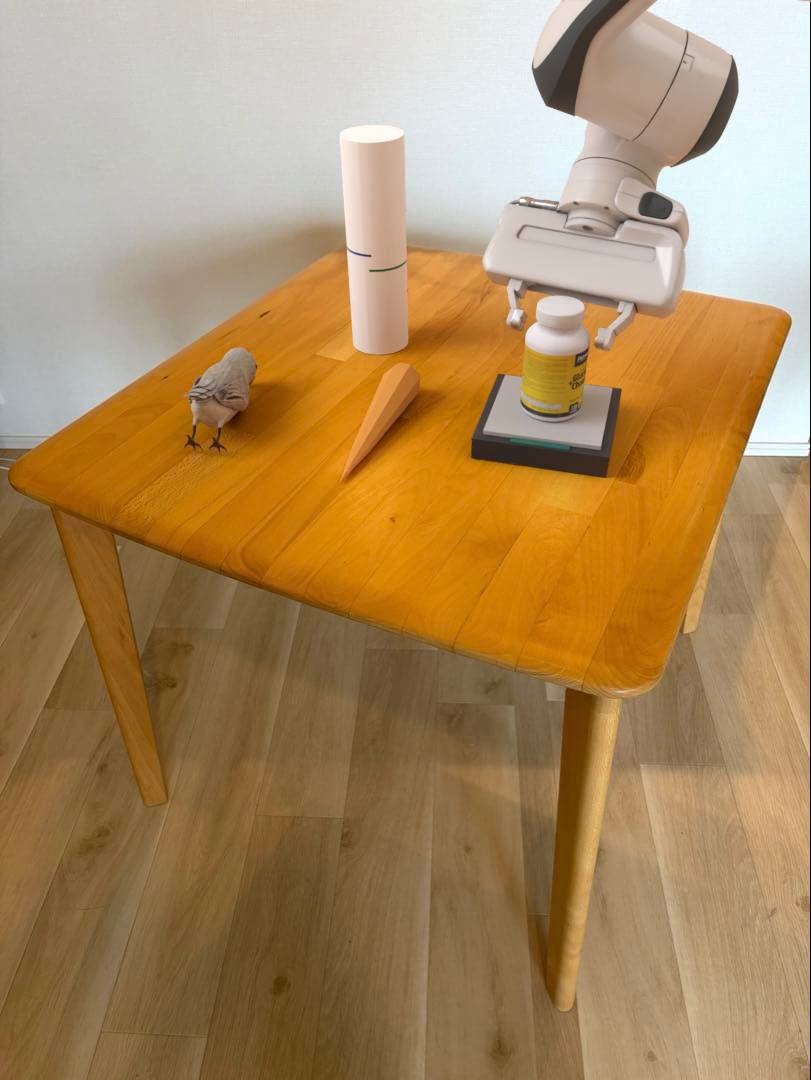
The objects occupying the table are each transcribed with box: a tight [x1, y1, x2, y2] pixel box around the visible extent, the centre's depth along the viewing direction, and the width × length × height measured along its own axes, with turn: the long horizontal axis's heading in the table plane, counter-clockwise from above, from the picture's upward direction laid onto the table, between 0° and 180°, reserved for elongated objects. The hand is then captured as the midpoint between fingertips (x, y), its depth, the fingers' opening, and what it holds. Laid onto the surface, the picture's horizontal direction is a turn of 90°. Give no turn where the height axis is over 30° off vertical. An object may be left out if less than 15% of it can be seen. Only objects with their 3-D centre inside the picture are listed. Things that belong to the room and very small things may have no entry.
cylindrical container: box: [339, 124, 409, 356], centre depth 102 cm, size 7×7×25 cm
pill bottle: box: [520, 295, 591, 422], centre depth 87 cm, size 6×6×12 cm
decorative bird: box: [182, 346, 258, 454], centre depth 94 cm, size 5×16×8 cm, turn 170°
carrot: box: [339, 362, 421, 483], centre depth 92 cm, size 20×4×4 cm, turn 160°
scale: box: [470, 373, 623, 478], centre depth 92 cm, size 14×14×3 cm
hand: (556, 338), depth 86 cm, fingers open, 8 cm apart
